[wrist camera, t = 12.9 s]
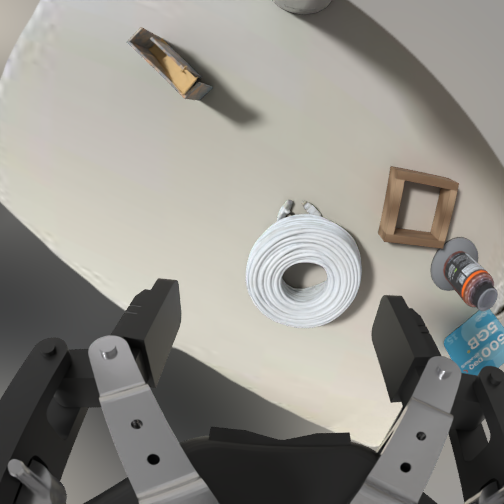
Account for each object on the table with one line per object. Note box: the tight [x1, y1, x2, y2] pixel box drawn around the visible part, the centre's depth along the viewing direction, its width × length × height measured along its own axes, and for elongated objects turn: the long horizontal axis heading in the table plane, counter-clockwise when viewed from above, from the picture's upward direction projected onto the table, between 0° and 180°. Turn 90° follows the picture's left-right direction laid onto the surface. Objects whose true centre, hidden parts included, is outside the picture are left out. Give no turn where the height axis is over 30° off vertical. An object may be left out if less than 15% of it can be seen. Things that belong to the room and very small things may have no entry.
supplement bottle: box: [443, 251, 498, 311], centre depth 40 cm, size 6×6×11 cm
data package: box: [444, 309, 504, 376], centre depth 46 cm, size 12×4×12 cm, turn 136°
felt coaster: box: [431, 237, 478, 291], centre depth 46 cm, size 10×10×1 cm
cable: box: [246, 200, 362, 328], centre depth 46 cm, size 18×18×6 cm
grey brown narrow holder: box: [127, 27, 213, 100], centre depth 33 cm, size 11×3×10 cm, turn 42°
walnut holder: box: [378, 166, 459, 249], centre depth 41 cm, size 10×10×3 cm
